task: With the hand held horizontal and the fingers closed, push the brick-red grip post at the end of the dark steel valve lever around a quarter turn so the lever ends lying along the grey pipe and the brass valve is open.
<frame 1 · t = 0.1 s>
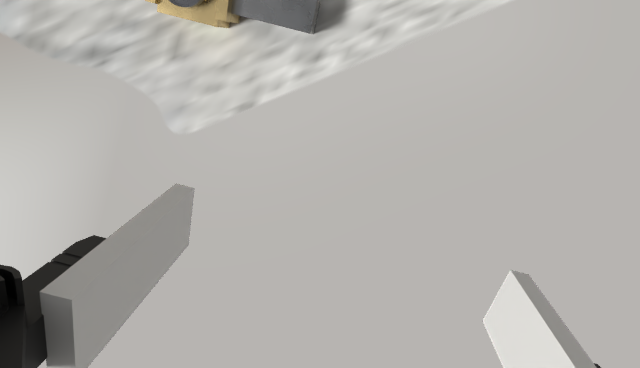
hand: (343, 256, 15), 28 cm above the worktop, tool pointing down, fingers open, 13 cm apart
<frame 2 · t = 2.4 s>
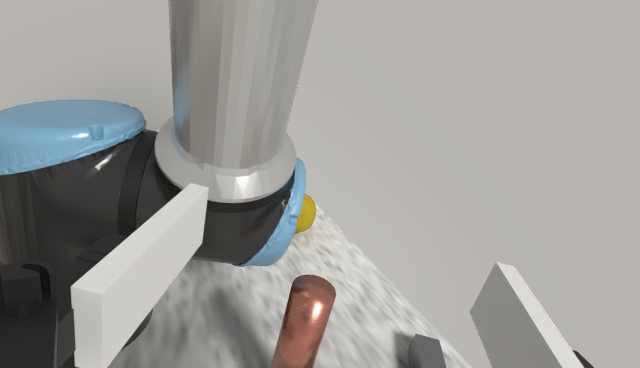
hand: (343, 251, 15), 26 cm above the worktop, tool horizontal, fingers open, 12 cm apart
lever: (390, 363, 31), point 10 cm above the worktop, hinge at 0.0°
lemon: (295, 233, 65), on the worktop
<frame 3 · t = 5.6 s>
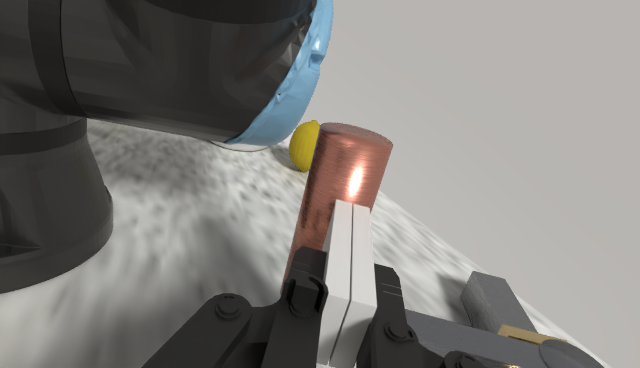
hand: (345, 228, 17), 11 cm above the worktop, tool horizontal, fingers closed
lever: (474, 271, 19), point 10 cm above the worktop, hinge at 1.4°, touching gripper
lemon: (302, 173, 53), on the worktop
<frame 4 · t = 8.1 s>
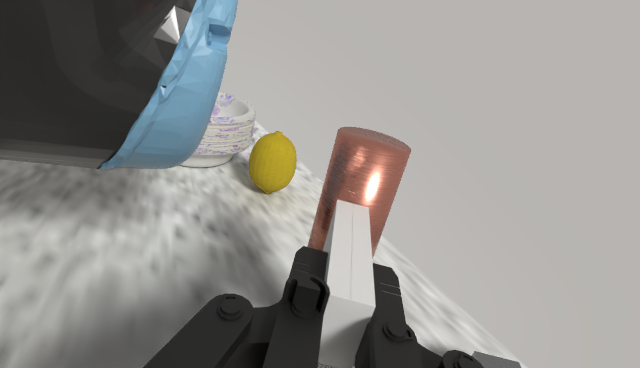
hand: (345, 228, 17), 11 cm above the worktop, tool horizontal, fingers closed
lever: (487, 341, 14), point 10 cm above the worktop, hinge at 40.9°, touching gripper
paper bowls: (192, 156, 49), on the worktop
lemon: (266, 194, 44), on the worktop
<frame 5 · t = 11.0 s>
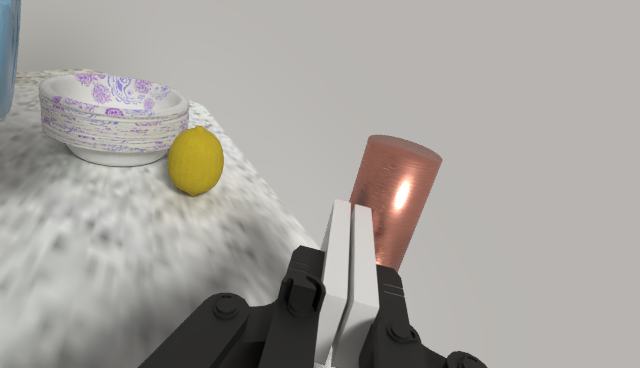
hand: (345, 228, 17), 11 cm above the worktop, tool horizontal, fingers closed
paper bowls: (120, 153, 45), on the worktop
lemon: (192, 197, 39), on the worktop
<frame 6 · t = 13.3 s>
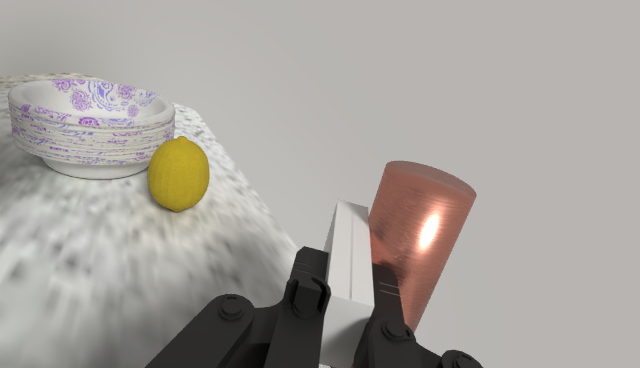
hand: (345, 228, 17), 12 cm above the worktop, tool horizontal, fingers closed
paper bowls: (101, 164, 41), on the worktop
lemon: (176, 213, 36), on the worktop
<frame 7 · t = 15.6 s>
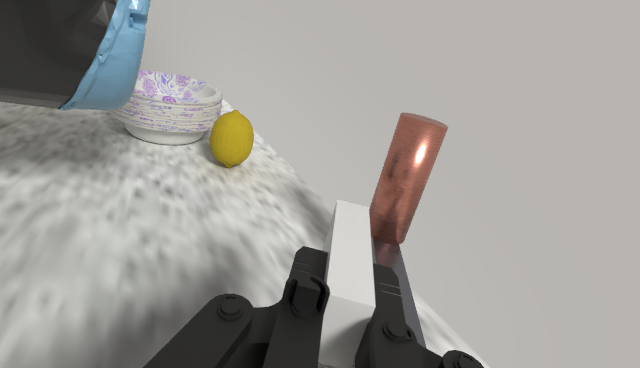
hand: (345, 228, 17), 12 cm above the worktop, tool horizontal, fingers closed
lever: (420, 239, 21), point 10 cm above the worktop, hinge at 87.2°
paper bowls: (165, 135, 54), on the worktop
lemon: (227, 168, 48), on the worktop
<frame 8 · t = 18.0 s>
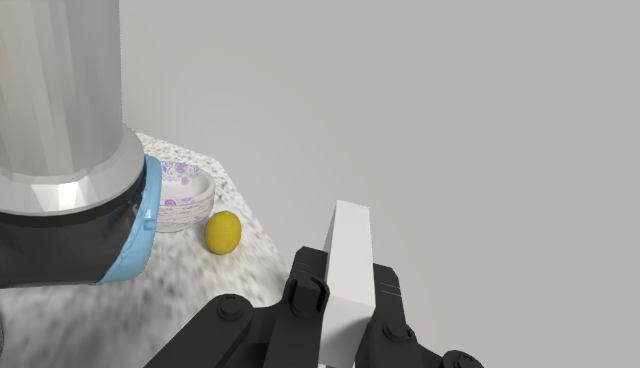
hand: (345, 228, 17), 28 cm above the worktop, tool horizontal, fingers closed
paper bowls: (166, 219, 63), on the worktop
lemon: (219, 255, 57), on the worktop
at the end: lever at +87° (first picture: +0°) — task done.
